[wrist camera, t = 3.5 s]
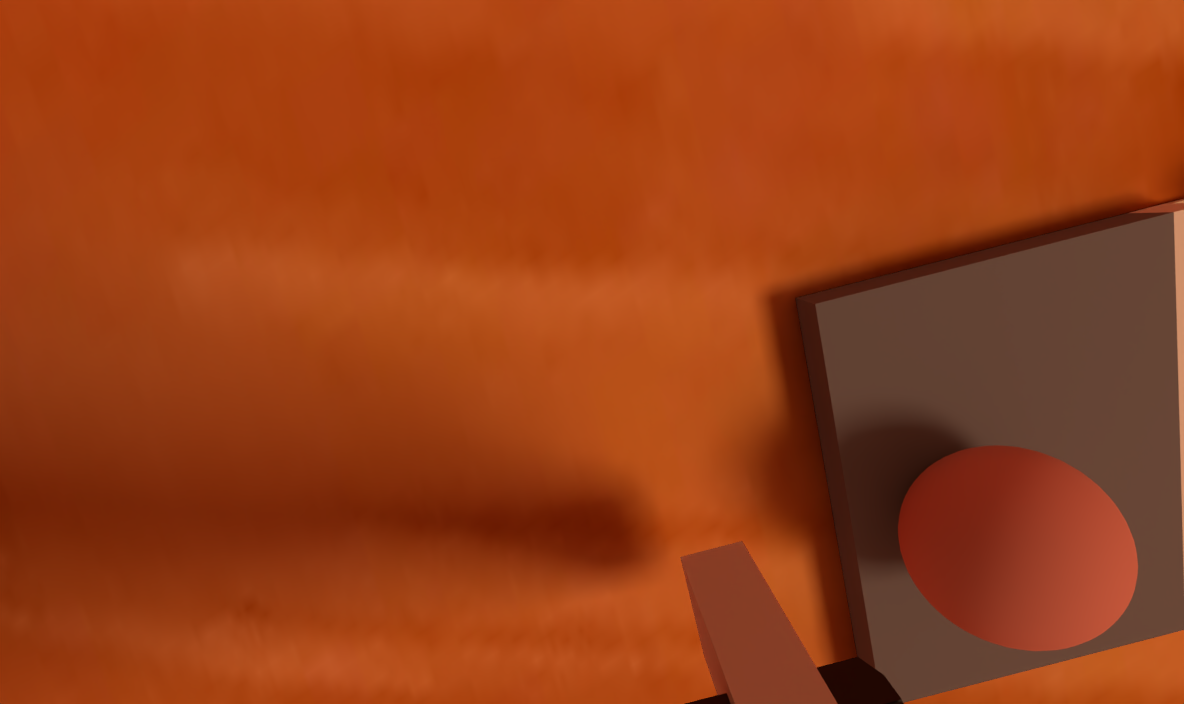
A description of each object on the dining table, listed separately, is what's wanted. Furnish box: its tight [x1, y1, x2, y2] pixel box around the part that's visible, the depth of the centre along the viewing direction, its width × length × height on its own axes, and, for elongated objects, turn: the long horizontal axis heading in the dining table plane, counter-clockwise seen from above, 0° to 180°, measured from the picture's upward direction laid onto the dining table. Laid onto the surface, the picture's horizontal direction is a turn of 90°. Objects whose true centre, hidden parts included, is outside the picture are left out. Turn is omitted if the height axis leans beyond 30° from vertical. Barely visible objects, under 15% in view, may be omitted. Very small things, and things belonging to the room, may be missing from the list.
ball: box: [898, 445, 1138, 651], centre depth 13 cm, size 4×4×4 cm
